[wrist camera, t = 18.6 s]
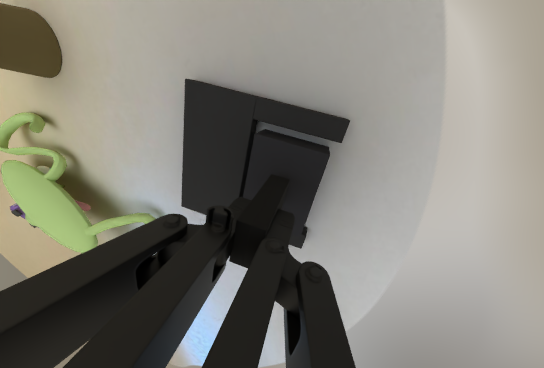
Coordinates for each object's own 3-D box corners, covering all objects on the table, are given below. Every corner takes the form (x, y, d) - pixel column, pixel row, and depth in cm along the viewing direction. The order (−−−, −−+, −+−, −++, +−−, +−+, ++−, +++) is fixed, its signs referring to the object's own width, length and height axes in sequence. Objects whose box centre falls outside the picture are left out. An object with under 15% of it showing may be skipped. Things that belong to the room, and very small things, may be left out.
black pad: (189, 200, 23) (181, 206, 22) (195, 80, 18) (184, 78, 16) (302, 239, 21) (301, 249, 20) (348, 119, 16) (350, 120, 15)
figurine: (144, 294, 34) (112, 328, 28) (14, 190, 31) (-46, 207, 26) (194, 239, 26) (162, 272, 20) (23, 94, 23) (-60, 91, 18)
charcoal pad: (329, 146, 17) (330, 154, 14) (303, 220, 20) (299, 237, 18) (265, 129, 18) (254, 133, 15) (250, 202, 21) (239, 216, 19)
